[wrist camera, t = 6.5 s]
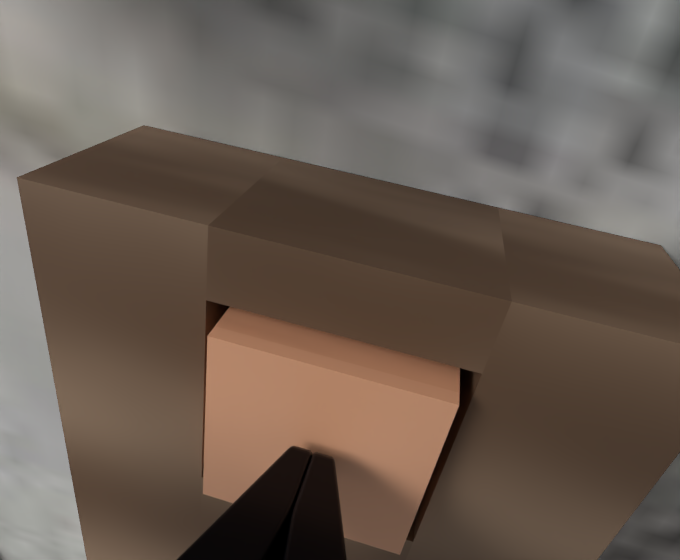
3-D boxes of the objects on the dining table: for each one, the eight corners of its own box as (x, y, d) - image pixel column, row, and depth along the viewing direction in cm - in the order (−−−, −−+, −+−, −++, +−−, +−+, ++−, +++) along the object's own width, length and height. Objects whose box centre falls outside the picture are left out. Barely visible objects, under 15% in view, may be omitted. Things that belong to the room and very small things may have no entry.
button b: (414, 431, 14) (400, 554, 11) (259, 387, 14) (202, 493, 11) (461, 296, 11) (459, 405, 8) (273, 248, 12) (207, 336, 9)
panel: (447, 627, 20) (443, 760, 16) (161, 535, 21) (101, 641, 17) (660, 245, 11) (748, 360, 7) (143, 125, 12) (16, 177, 9)
